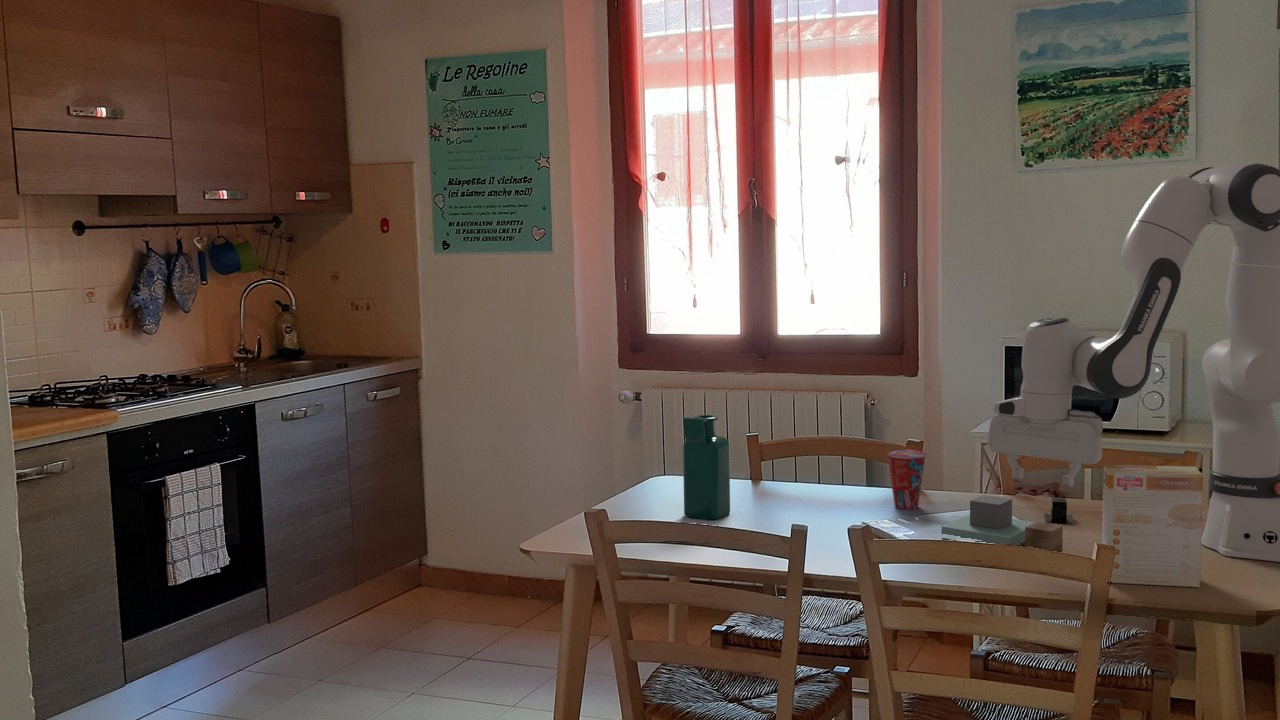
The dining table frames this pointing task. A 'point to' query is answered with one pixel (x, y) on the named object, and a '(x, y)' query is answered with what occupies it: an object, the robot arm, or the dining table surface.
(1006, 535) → the base slab
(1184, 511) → the coffeecake box
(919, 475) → the cup
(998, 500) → the charcoal block
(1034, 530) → the walnut block
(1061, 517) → the black rectangular block
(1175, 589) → the dining table surface
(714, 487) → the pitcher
